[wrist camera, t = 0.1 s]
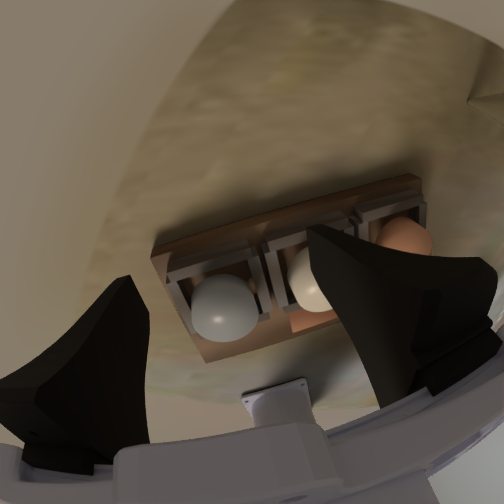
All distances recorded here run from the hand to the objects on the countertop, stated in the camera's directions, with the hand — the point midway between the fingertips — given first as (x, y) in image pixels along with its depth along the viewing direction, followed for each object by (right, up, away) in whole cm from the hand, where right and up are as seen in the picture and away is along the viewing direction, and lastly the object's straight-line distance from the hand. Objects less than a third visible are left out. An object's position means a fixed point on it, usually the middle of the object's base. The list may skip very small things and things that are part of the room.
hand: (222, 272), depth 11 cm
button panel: (+6, -1, +13) cm, 14 cm away
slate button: (-1, -3, +9) cm, 10 cm away
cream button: (+6, -1, +9) cm, 11 cm away
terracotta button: (+12, +2, +10) cm, 16 cm away
